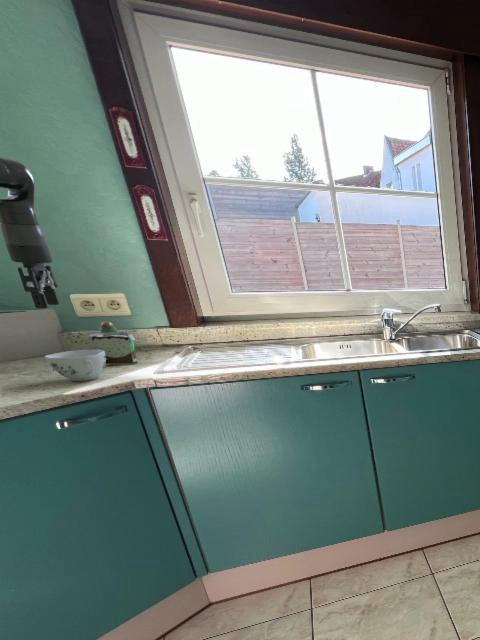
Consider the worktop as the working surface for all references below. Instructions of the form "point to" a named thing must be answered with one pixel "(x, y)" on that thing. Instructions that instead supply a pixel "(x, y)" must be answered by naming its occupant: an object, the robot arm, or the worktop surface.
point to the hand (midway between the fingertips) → (48, 306)
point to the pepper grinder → (107, 327)
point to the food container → (115, 347)
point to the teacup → (78, 364)
